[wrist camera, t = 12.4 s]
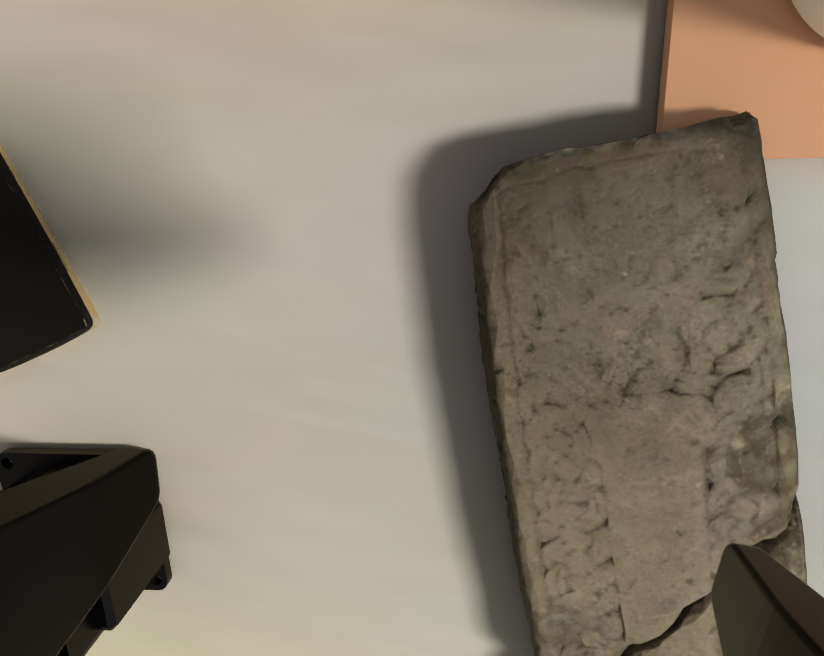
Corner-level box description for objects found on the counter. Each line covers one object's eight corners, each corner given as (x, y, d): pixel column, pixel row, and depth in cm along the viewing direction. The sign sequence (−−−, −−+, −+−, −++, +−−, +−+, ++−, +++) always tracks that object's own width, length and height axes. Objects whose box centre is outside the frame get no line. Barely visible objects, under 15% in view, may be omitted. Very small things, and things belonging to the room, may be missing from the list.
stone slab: (827, 93, 15) (840, 893, 22) (768, 105, 18) (797, 806, 26) (440, 175, 17) (573, 894, 24) (446, 172, 20) (562, 812, 27)
